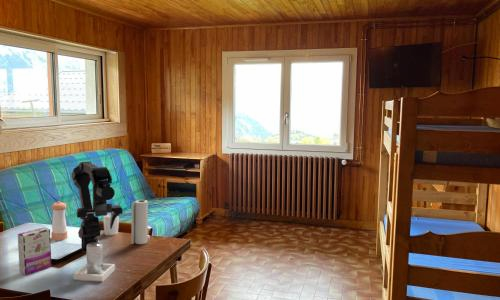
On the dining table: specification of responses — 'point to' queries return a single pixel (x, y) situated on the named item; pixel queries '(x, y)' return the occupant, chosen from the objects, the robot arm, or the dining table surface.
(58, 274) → the dining table surface
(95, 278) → the bin
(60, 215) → the pepper shaker
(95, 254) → the gravel can
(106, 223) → the white cup
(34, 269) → the candy bar box
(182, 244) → the dining table surface
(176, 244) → the dining table surface
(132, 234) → the paper towel roll
